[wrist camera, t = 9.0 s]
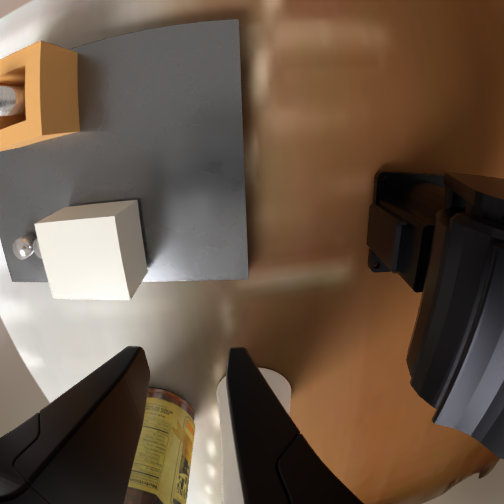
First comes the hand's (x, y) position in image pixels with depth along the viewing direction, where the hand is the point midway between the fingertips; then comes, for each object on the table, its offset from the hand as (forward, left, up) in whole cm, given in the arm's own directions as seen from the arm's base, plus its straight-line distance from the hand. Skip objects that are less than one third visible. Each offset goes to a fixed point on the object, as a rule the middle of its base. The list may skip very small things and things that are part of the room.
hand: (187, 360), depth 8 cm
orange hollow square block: (+10, -9, -11) cm, 17 cm away
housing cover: (+7, 0, -11) cm, 13 cm away
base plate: (+7, -4, -12) cm, 15 cm away
